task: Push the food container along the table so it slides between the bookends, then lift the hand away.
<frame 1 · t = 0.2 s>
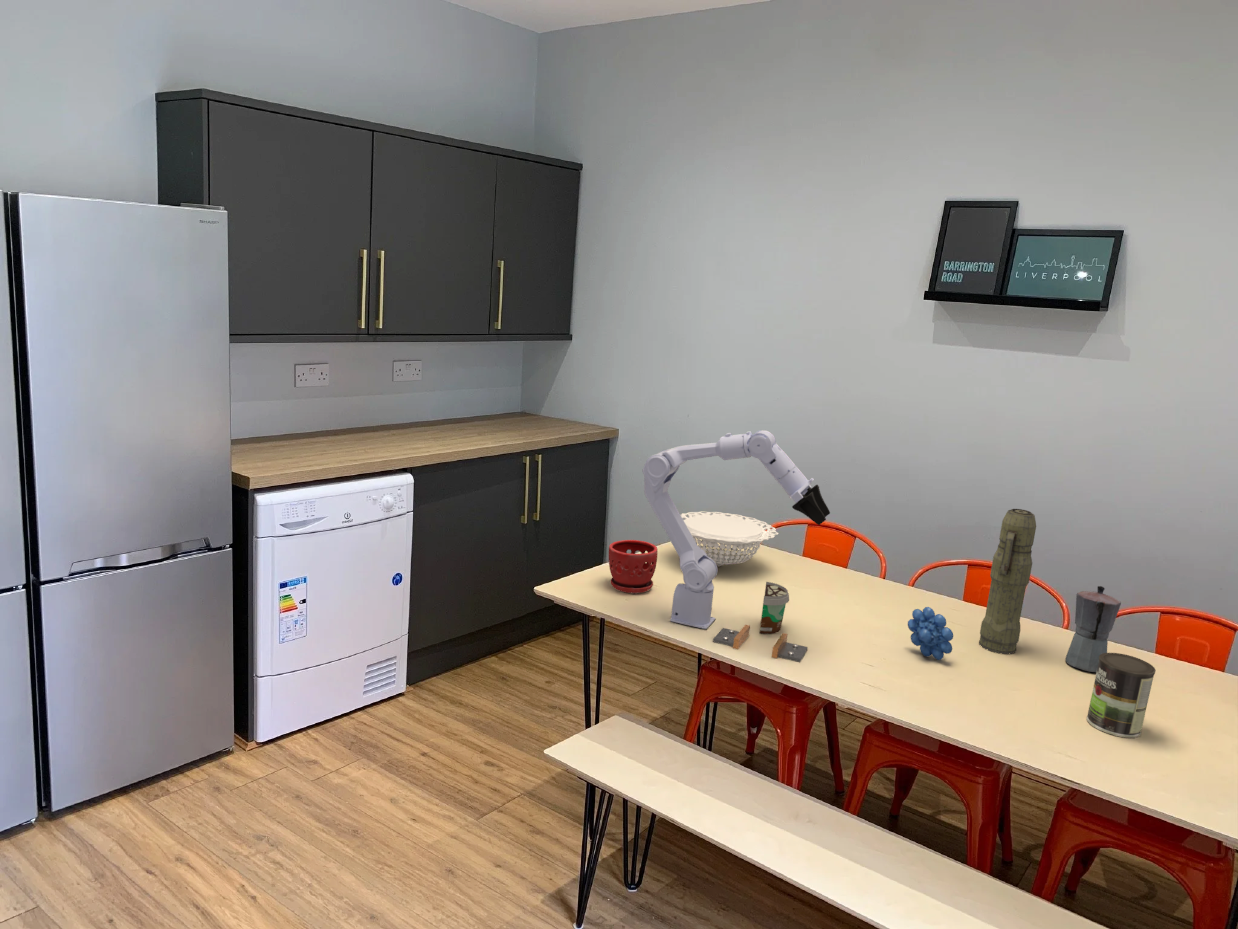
hand: (824, 519, 213), 31 cm above the table, tool tilted 45°, fingers open, 7 cm apart
bookends: (760, 646, 217), on the table
plant pot: (629, 589, 249), on the table
thermos: (997, 647, 229), on the table
food container: (772, 629, 229), on the table
moka pot: (1086, 667, 221), on the table
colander: (718, 567, 275), on the table
grapes: (924, 658, 219), on the table
coffee can: (1113, 726, 191), on the table
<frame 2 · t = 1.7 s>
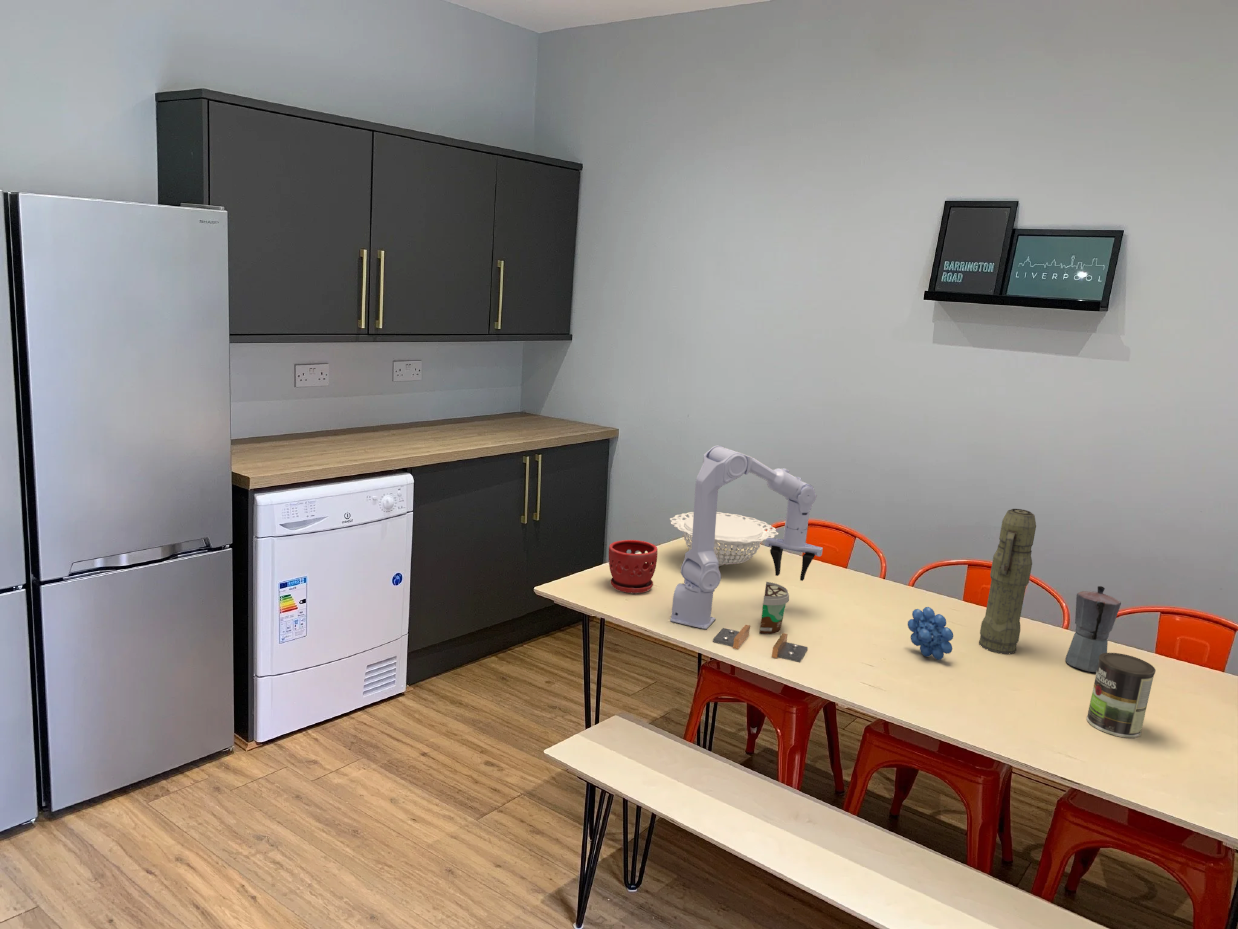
hand: (789, 577, 240), 9 cm above the table, tool pointing down, fingers open, 6 cm apart
nothing on the table moved.
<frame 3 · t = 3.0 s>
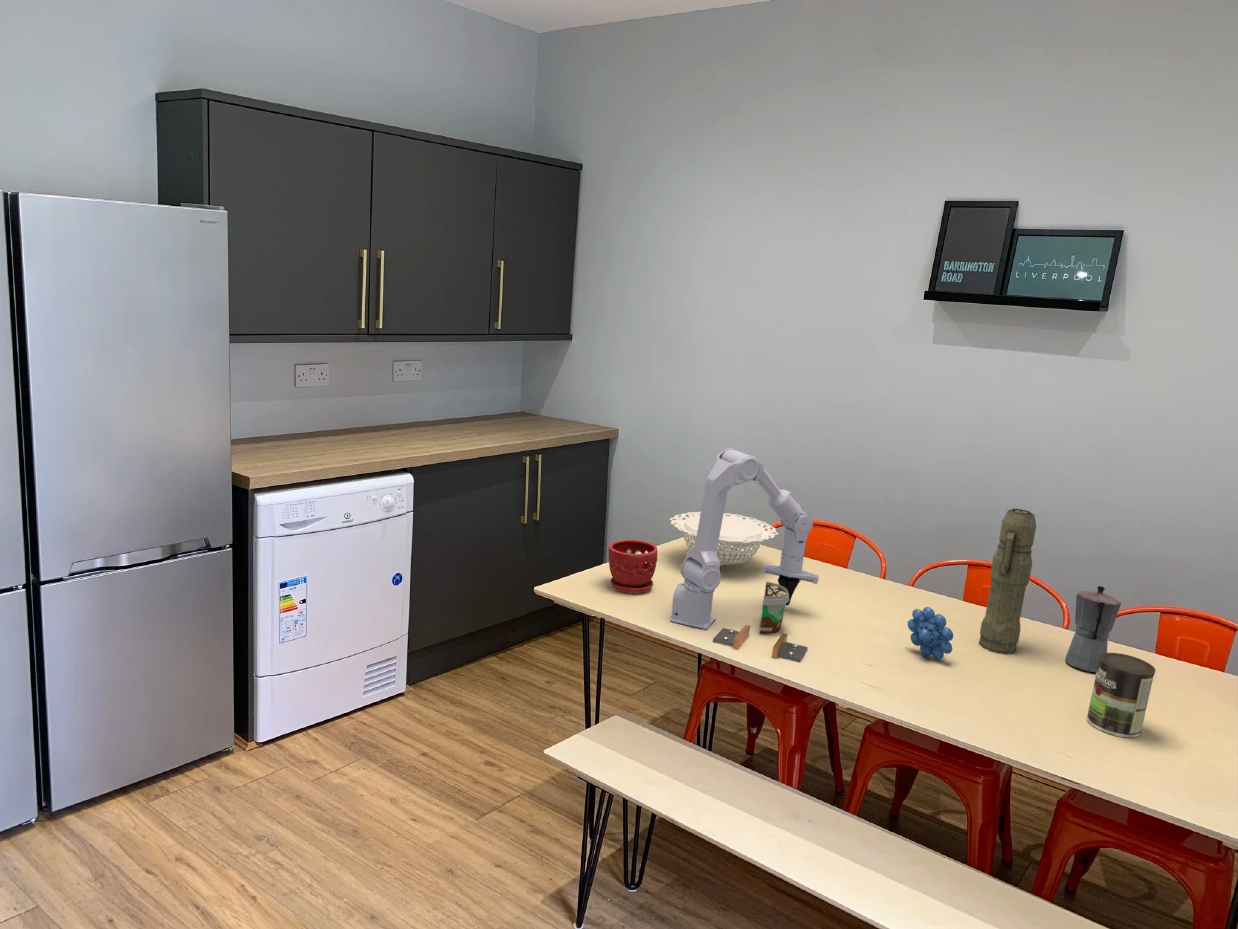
hand: (786, 604, 241), 2 cm above the table, tool pointing down, fingers closed
nothing on the table moved.
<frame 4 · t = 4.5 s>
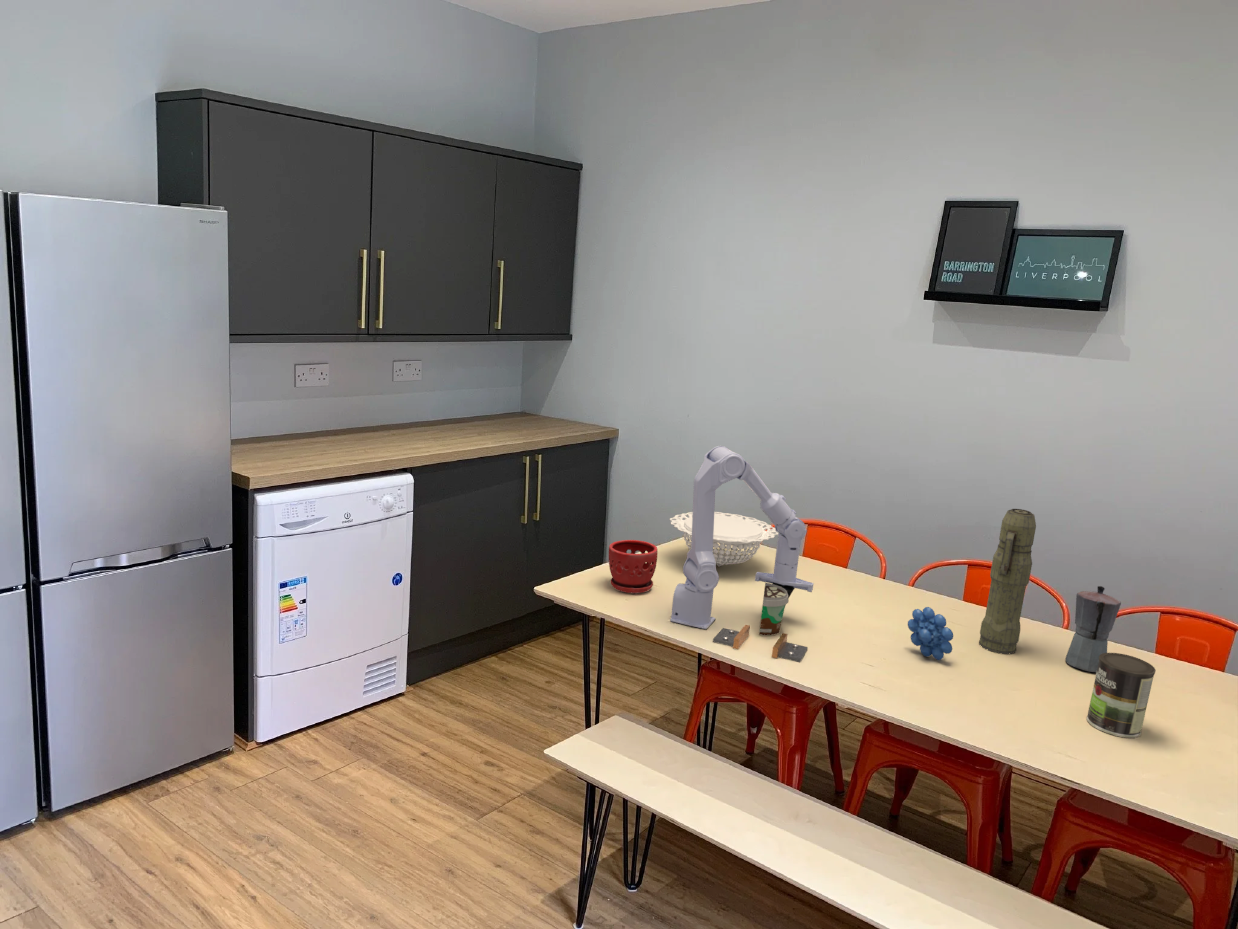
hand: (780, 612, 235), 2 cm above the table, tool pointing down, fingers closed
food container: (772, 630, 228), on the table, touching gripper
everything else where it was.
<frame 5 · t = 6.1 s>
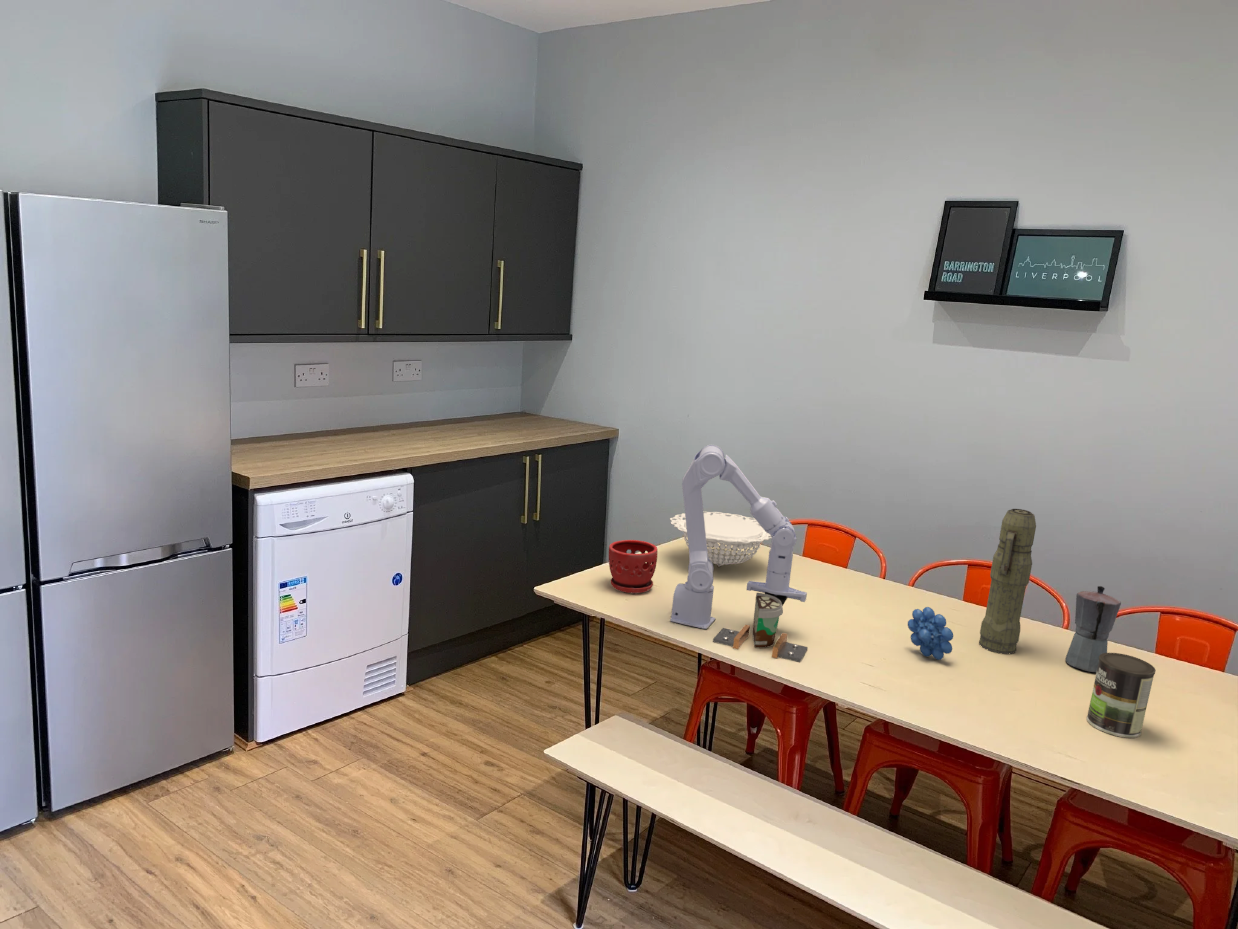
hand: (772, 622, 227), 2 cm above the table, tool pointing down, fingers closed
food container: (766, 641, 220), on the table, touching gripper
everything else where it was.
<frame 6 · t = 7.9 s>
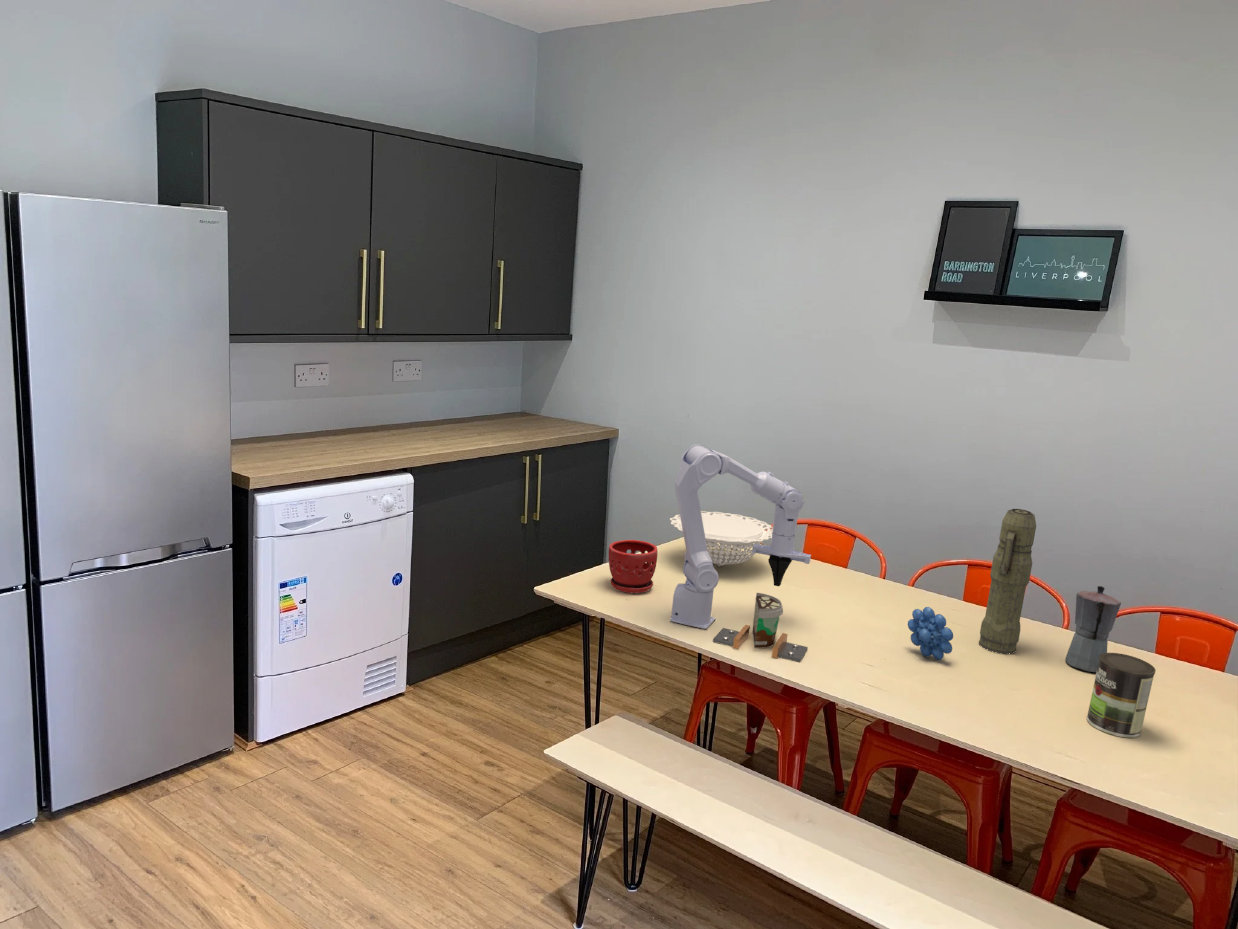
hand: (777, 585, 233), 9 cm above the table, tool pointing down, fingers closed
food container: (766, 642, 220), on the table
everything else where it was.
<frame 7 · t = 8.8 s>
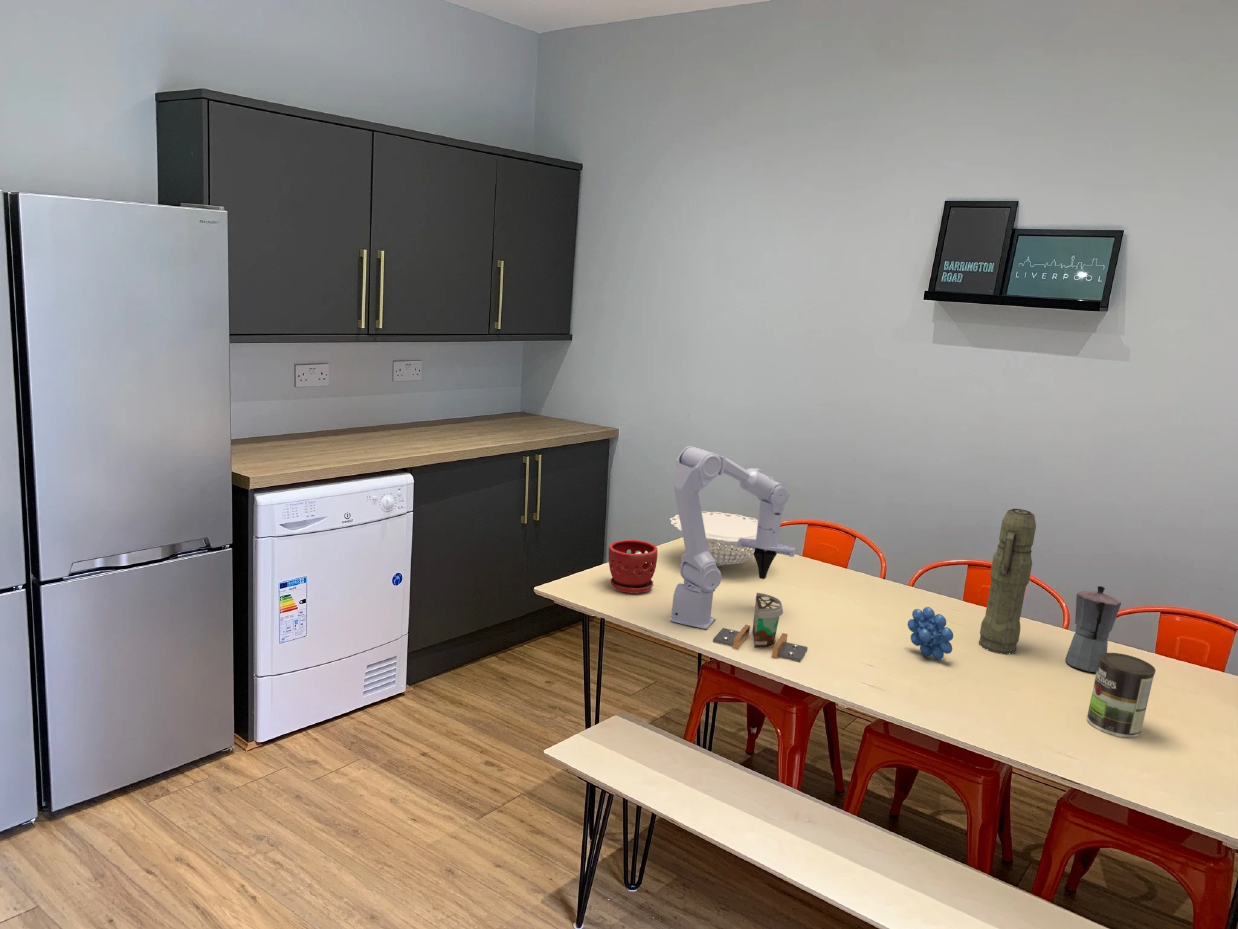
hand: (762, 577, 237), 9 cm above the table, tool pointing down, fingers closed
nothing on the table moved.
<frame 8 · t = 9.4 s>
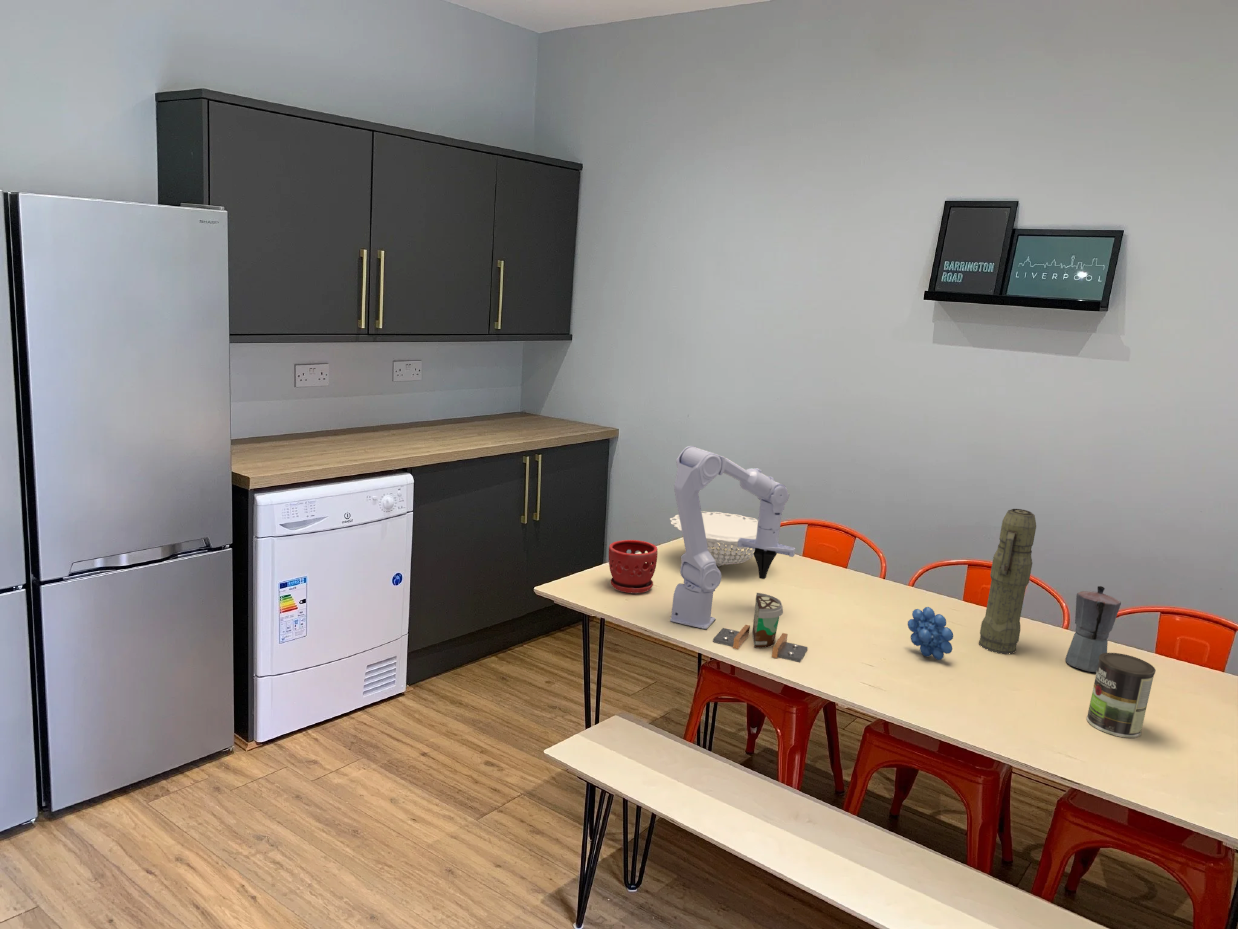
hand: (762, 577, 237), 9 cm above the table, tool pointing down, fingers closed
nothing on the table moved.
at the end: food container inside the target area (2.6 cm from its centre), on the table; food container tilted 0° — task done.
